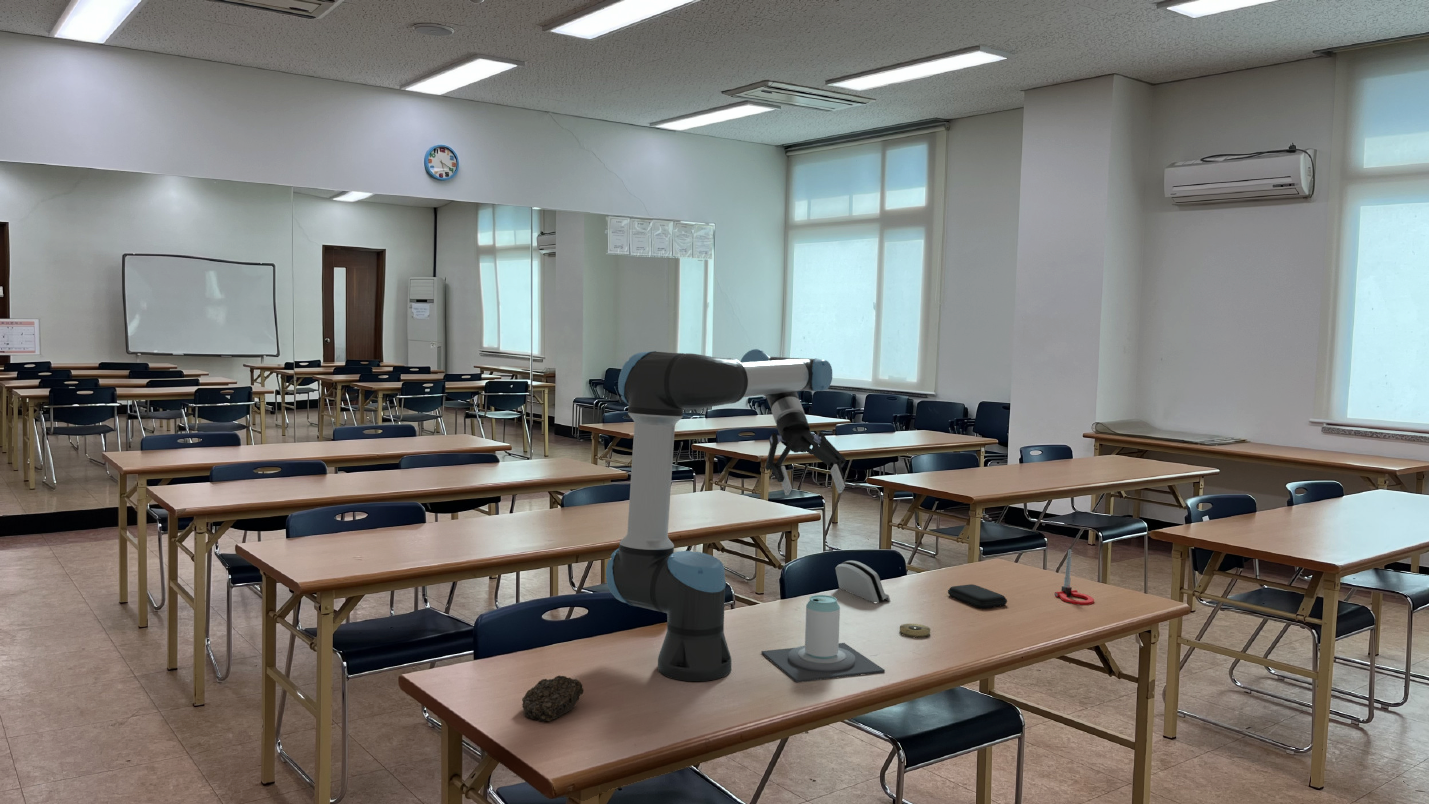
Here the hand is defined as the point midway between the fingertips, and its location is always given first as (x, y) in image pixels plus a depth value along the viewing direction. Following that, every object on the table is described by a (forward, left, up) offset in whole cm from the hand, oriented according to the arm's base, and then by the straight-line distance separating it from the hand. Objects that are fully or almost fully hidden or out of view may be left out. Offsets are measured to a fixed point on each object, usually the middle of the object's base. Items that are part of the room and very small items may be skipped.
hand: (815, 491), depth 229 cm
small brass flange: (+22, -10, -33) cm, 41 cm away
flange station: (-8, -22, -33) cm, 40 cm away
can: (-8, -22, -31) cm, 39 cm away
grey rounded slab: (+25, +23, -33) cm, 48 cm away
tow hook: (+79, +3, -33) cm, 86 cm away
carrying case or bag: (+53, +10, -33) cm, 64 cm away
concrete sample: (-67, -30, -33) cm, 81 cm away
